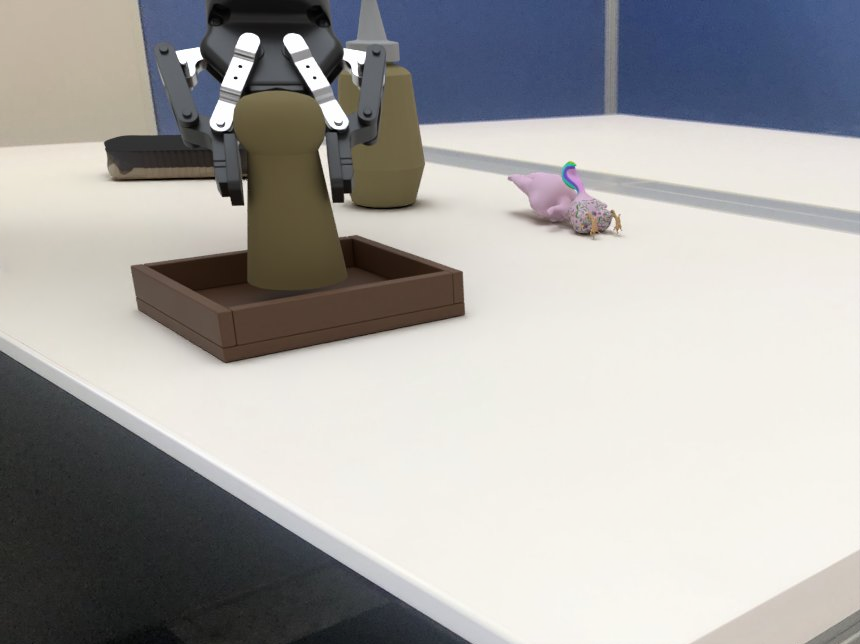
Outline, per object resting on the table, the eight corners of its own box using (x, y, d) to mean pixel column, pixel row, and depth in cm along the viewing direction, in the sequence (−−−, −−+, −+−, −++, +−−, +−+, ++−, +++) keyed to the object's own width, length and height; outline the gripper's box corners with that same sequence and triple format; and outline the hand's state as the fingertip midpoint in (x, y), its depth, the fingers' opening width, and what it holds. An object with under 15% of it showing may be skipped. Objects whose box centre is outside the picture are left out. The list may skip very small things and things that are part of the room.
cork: (227, 285, 64) (199, 94, 60) (280, 262, 70) (258, 85, 65) (317, 293, 63) (295, 98, 59) (364, 270, 69) (348, 89, 64)
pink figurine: (634, 247, 92) (543, 193, 102) (642, 180, 89) (547, 130, 99) (574, 256, 89) (486, 199, 98) (581, 186, 86) (488, 134, 95)
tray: (225, 362, 58) (217, 313, 57) (137, 309, 67) (129, 265, 66) (465, 314, 68) (463, 271, 66) (360, 273, 77) (357, 234, 75)
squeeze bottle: (445, 202, 103) (434, -2, 95) (387, 215, 96) (370, -2, 89) (382, 193, 106) (367, -4, 99) (322, 205, 100) (301, -5, 93)
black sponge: (272, 167, 120) (268, 133, 119) (267, 178, 113) (263, 142, 111) (117, 169, 116) (110, 134, 115) (101, 182, 109) (94, 144, 107)
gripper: (131, -81, 63) (144, 160, 57) (379, -72, 66) (413, 154, 61) (155, 15, 69) (169, 237, 64) (379, 18, 73) (410, 228, 68)
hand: (288, 195), depth 63 cm, fingers closed on cork, 5 cm apart
